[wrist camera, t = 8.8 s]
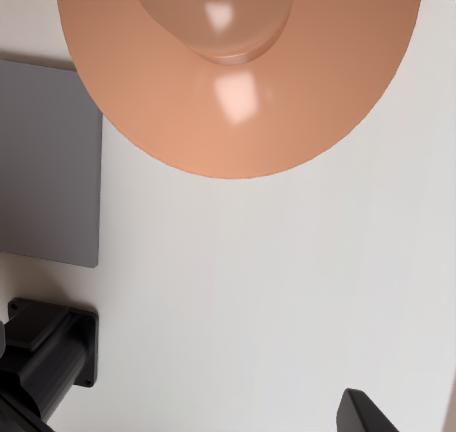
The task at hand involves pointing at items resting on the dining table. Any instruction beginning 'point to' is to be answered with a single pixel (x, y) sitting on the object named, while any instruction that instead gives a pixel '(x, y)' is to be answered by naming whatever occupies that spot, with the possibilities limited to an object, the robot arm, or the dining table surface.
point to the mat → (49, 164)
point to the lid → (236, 75)
